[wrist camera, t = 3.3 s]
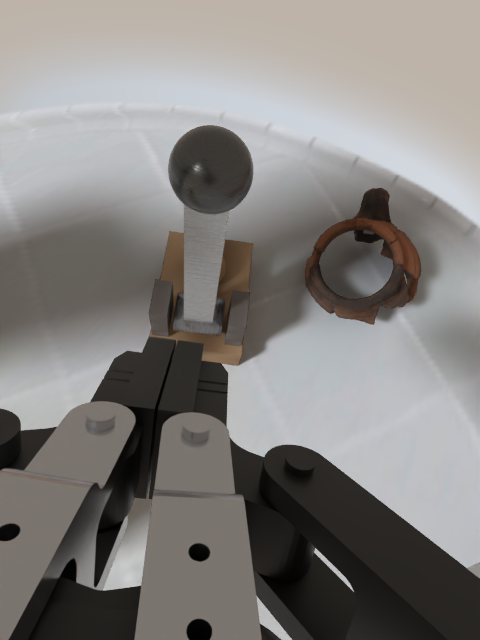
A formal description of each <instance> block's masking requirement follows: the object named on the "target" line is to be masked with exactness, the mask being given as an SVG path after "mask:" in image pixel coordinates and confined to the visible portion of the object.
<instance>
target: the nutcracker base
mask: <svg viewBox="0 0 480 640" xmlns="http://www.w3.org/2000/svg"><path fill="white" fill-rule="evenodd" d="M252 246H253V244H252V243H246V242H239V241H232V240H225V243H224V249H223V256H222V263H221V269H220V276H219V283H218V289H217V296H216V297H219V298H225V309H224V316H223V324H222V330H221V336H220V337H219V336H212V335H204V334H197V333H189V332H182V331H174V330H173V321H174V312H175V305H176V299H177V295H178V292H182V293H184V233H177V232H171V231H170V232H169V237H168V242H167V247H166V253H165V258H164V263H163V268H162V274H161V279H160V280H158V279H155V284H154V289H153V295H152V300H151V305H150V310H149V317H150V323H151V331H150V336H151V337H159V338H166V339H174V340H176V345H177V342H178V340H182V341H190V342H197V343H204V348H203V356H202V361H208V362H216V363H222V364H229V365H237V366H238V364H239V361H240V358H241V355H242V345H243V335H244V332H245V329H246V325H247V315H248V305H249V295H250V292H248V286H249V276H250V266H251V256H252Z"/></svg>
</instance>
